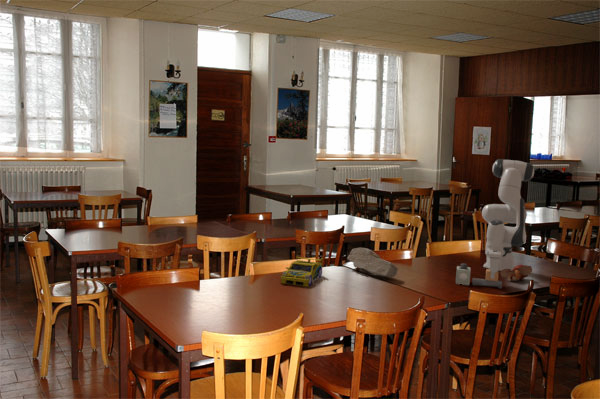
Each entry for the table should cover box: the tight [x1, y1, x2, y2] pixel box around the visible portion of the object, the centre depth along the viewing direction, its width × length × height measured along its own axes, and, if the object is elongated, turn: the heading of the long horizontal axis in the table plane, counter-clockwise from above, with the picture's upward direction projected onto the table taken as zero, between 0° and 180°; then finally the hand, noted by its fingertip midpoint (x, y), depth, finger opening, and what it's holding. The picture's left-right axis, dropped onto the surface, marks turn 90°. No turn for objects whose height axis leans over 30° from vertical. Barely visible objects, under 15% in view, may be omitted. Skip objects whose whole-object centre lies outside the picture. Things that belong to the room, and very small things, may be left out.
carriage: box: [485, 268, 500, 286], centre depth 311 cm, size 5×6×7 cm
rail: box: [471, 277, 503, 289], centre depth 312 cm, size 6×15×3 cm, turn 75°
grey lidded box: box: [455, 265, 471, 286], centre depth 314 cm, size 8×7×8 cm
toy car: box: [280, 255, 324, 288], centre depth 307 cm, size 16×27×10 cm, turn 162°
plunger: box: [460, 263, 468, 270], centre depth 314 cm, size 3×3×5 cm
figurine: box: [499, 264, 533, 282], centre depth 326 cm, size 20×9×15 cm
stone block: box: [347, 247, 399, 278], centre depth 325 cm, size 34×10×15 cm
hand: (491, 276), depth 311 cm, fingers closed on carriage, 5 cm apart
